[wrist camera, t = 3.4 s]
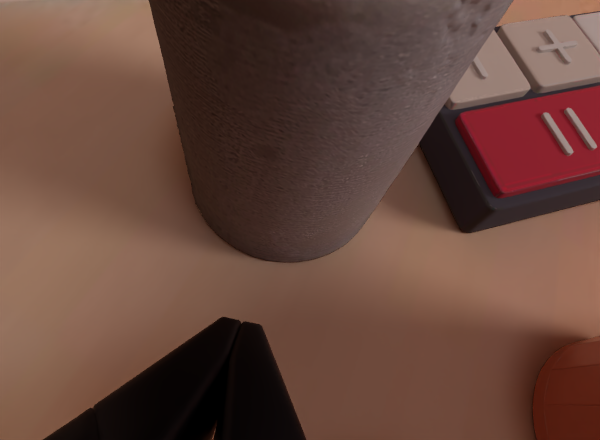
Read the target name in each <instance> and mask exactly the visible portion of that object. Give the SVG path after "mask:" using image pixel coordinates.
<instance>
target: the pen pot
mask: <svg viewBox="0 0 600 440" xmlns="http://www.w3.org/2000/svg"><path fill="white" fill-rule="evenodd" d="M533 422H534V429H535V434H536V439H537V440H600V336H596V337H593V338H590V339H587V340H582V341H577V342H574V343H570V344H568V345H566V346H564V347H562V348H560V349H559V350H558V351H556V352H555V353H554V354H553V355H552V356H551V357H550V358H549V359H548V360H547V361H546V363H545V364H544V366H543V367H542V369H541V371H540V373H539V376H538V378H537V382H536V385H535V389H534V395H533Z"/></svg>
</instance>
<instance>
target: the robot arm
mask: <svg viewBox="0 0 600 440" xmlns="http://www.w3.org/2000/svg"><path fill="white" fill-rule="evenodd" d="M215 428H216V429H215ZM214 431H215V435H214V440H306V437H305V435H304V432H303V430H302V427H301V424H300V422H299V419H298V417H297V414H296V412H295V409H294V407H293V404H292V402H291V399H290V396H289V394H288V391H287V389H286V386H285V384H284V381H283V379H282V376H281V373H280V371H279V368H278V366H277V363H276V361H275V358H274V356H273V353H272V350H271V348H270V345H269V343H268V340H267V338H266V335H265V333H264V330H263V328H262V326H261V325H259V324H255V323H250V322H243V323H242V324H241V322H240V321H239V320H236V319H231V318H227V317H221V318H220V319H218V320H217V321H215V322H214V323H212V324H211V325H209V326H208V327H207V328H205V329H204V330H202V331H201V332H199V333H198V334H196V335H195V336H194V337H192V338H191V339H189V340H188V341H186V342H185V343H183V344H182V345H181V346H179V347H178V348H176V349H175V350H173V351H172V352H170V353H169V354H168V355H166V356H165V357H163V358H162V359H160V360H159V361H157V362H156V363H155V364H153V365H152V366H150V367H149V368H147V369H146V370H144V371H143V372H142V373H140V374H139V375H137V376H136V377H134V378H133V379H131V380H130V381H129V382H127V383H126V384H124V385H123V386H121V387H120V388H118V389H117V390H115V391H114V392H113V393H111V394H110V395H108V396H107V397H105V398H104V399H102V400H101V401H100V402H98V403H97V404H95V405H94V407H93V408H89V409H88V410H86V411H85V412H83V413H82V414H80V415H79V416H78V417H76V418H75V419H73V420H72V421H70V422H69V423H67V424H66V425H64V426H63V427H61V428H60V429H58V430H57V431H55V432H54V433H52V434H51V435H49V436H48V437H46V438H44V439H43V440H212V437H213V434H214Z"/></svg>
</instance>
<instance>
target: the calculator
mask: <svg viewBox="0 0 600 440" xmlns="http://www.w3.org/2000/svg"><path fill="white" fill-rule="evenodd" d="M419 144H420V146H421V148H422V150H423V152H424V154H425V156H426V158H427V160H428V163H429V165H430V167H431V169H432V171H433V173H434V175H435V177H436V179H437V181H438V184H439V186H440V188H441V190H442V192H443V194H444V196H445V198H446V200H447V202H448V205H449V207H450V209H451V211H452V213H453V215H454V217H455V219H456V221H457V223H458V225H459V227H460V229H461V230H462V231H464V232H466V233H472V232H476V231H480V230H484V229H488V228H492V227H496V226H500V225H504V224H508V223H511V222H515V221H519V220H523V219H527V218H531V217H535V216H539V215H543V214H547V213H550V212H554V211H558V210H562V209H566V208H570V207H574V206H578V205H582V204H586V203H589V202H593V201H597V200H600V11H597V12H591V13H584V14H578V15H571V16H567V15H562V16H555V17H548V18H542V19H535V20H528V21H522V22H515V23H509V24H504V25H502V26H499V27H495V28H494V30H493V31H492V33H491V34H490V36H489V38H488V39H487V40H486V42H485V43H484V45H483V46H482V48H481V49H480V51H479V52H478V54H477V55H476V57H475V58H474V60H473V61H472V63H471V65H470V66H469V68H468V69H467V71H466V72H465V73H464V75H463V77H462V78H461V79H460V81H459V82H458V84H457V85H456V87H455V89H454V90H453V92H452V93H451V95H450V97H449V98H448V100H447V101H446V103H445V104H444V105H443V107H442V108H441V110H440V111H439V113H438V114H437V115H436V117H435V119H434V120H433V122H432V123H431V125H430V127H429V128H428V130H427V131H426V133H425V134H424V136H423V137H422V139H421V140H420V142H419Z"/></svg>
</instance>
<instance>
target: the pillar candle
mask: <svg viewBox="0 0 600 440" xmlns="http://www.w3.org/2000/svg"><path fill="white" fill-rule="evenodd" d="M512 2H513V0H149V3H150V7H151V11H152V15H153V20H154V24H155V28H156V32H157V36H158V40H159V44H160V48H161V53H162V57H163V60H164V65H165V69H166V74H167V79H168V83H169V87H170V91H171V96H172V100H173V104H174V106H173V109H174V112H175V117H176V120H177V127H178V129H179V134H180V137H181V143H182V147H183V151H184V155H185V160H186V165H187V168H188V174H189V177H190V180H191V185H192V192H193V195H194V198H195V202H196V205H197V207H198V209H199V210H200V212H201V214H202V216H203V217H204V219H205V220H206V222H207V223H208V225H209V226H210V227H211V228H212V229H213V230H214V231H215V232H216V233H217V234H218V235H219V236H220V237H221V238H222V239H224V240H225V241H227V242H228V243H229V244H231V245H232V246H234V247H235V248H237V249H239V250H241V251H242V252H245V253H247V254H249V255H251V256H254V257H258V258H261V259H264V260H270V261H278V262H299V261H307V260H312V259H316V258H319V257H322V256H324V255H327V254H330V253H332V252H334V251H335V250H337V249H339V248H340V247H342V246H344V245H345V244H346V243H348V242H349V240H351V239H352V238H353V237H354V236H355V235H356V234H357V233H358V231H359V230H360V229H361V228H362V226H363V225H364V224H365V222H366V221H367V219H368V218H369V216H370V215H371V214H372V212H373V211H374V209H375V208H376V206H377V205H378V204H379V202H380V200H381V199H382V197H383V196H384V195H385V193H386V192H387V190H388V188H389V187H390V185H391V184H392V183H393V181H394V180H395V178H396V177H397V175H398V174H399V172H400V171H401V169H402V168H403V166H404V165H405V163H406V162H407V160H408V159H409V157H410V156H411V154H412V153H413V151H414V150H415V148H416V147H417V146H418V144H419V142H420V140H421V139H422V137H423V136H424V134H425V133H426V131H427V130H428V128H429V127H430V125H431V123H432V122H433V120H434V119H435V117H436V115H437V114H438V113H439V111H440V110H441V108H442V107H443V105H444V104H445V103H446V101H447V100H448V98H449V97H450V95H451V93H452V92H453V90H454V89H455V87H456V85H457V84H458V82H459V81H460V79H461V78H462V77H463V75H464V73H465V72H466V71H467V69H468V68H469V66H470V65H471V63H472V61H473V60H474V58H475V57H476V55H477V54H478V52H479V51H480V49H481V48H482V46H483V45H484V43H485V42H486V40H487V39H488V38H489V36H490V34H491V33H492V31H493V30H494V28H495V27H496V25H497V24H498V22H499V21H500V19H501V18H502V17H503V15H504V14H505V12H506V11H507V9H508V7H509V6H510V5H511V3H512Z"/></svg>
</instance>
